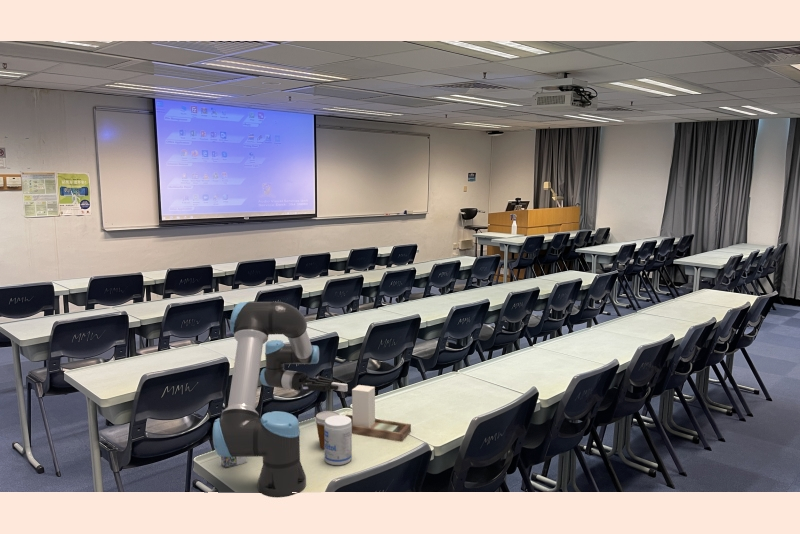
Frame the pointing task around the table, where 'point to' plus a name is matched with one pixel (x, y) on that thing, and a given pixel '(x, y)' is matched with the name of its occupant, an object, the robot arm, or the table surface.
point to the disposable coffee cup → (323, 424)
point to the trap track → (383, 430)
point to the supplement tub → (338, 440)
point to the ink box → (232, 461)
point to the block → (363, 406)
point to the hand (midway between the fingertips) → (346, 387)
